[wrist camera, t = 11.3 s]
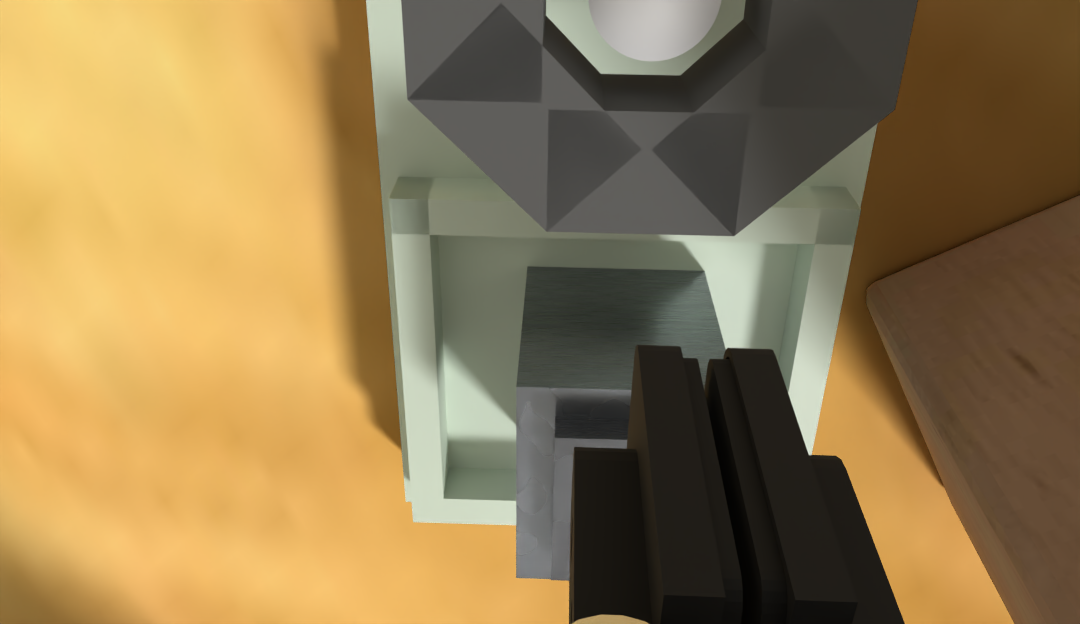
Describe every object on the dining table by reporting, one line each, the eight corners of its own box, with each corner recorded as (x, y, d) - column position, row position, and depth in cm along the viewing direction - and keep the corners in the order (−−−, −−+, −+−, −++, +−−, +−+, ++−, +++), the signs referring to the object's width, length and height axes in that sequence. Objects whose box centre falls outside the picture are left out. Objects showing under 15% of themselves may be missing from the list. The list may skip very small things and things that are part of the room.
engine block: (684, 440, 29) (713, 608, 23) (526, 435, 29) (514, 601, 23) (704, 270, 26) (742, 414, 20) (527, 266, 26) (514, 407, 20)
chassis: (786, 473, 32) (845, 664, 25) (414, 462, 32) (371, 648, 25) (927, -275, 21) (1101, -302, 14) (361, -282, 21) (260, -312, 14)
